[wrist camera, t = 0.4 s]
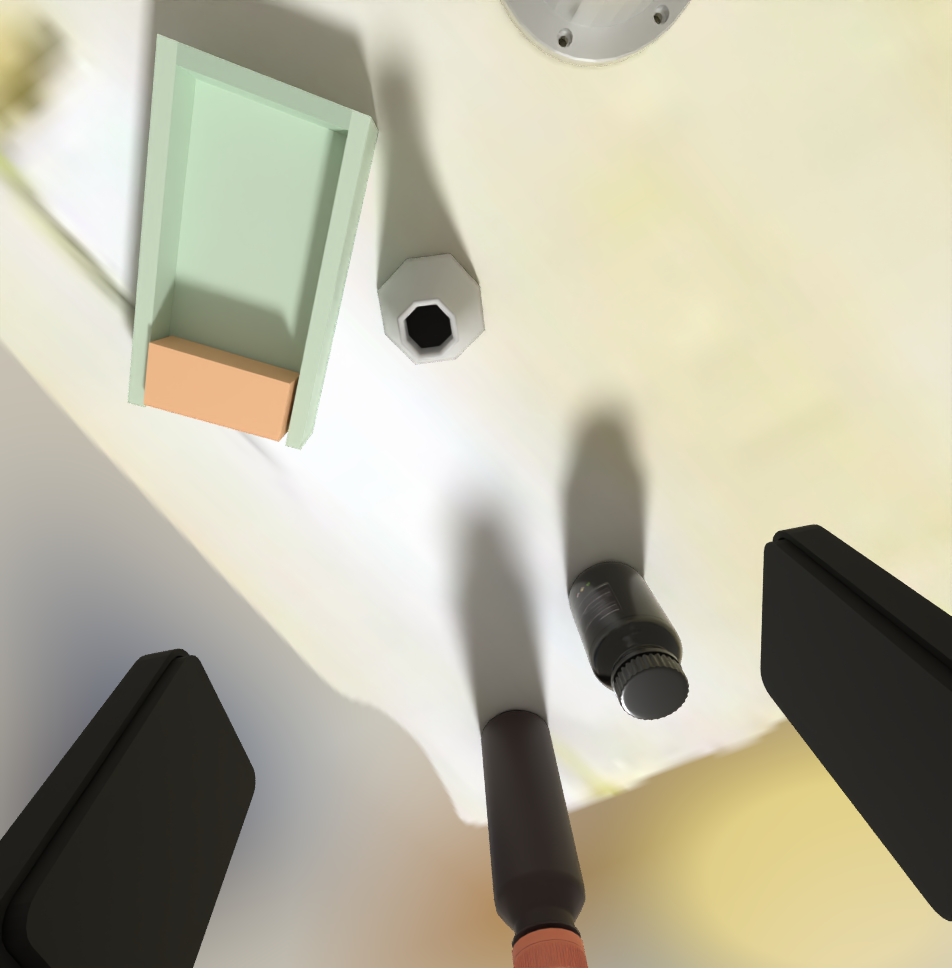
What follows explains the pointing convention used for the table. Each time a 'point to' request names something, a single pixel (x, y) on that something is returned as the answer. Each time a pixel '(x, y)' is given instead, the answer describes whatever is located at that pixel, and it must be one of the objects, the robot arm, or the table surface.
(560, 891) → the vinegar
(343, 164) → the pale green shallow box
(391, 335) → the flask
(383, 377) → the table surface
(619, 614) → the supplement bottle
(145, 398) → the block
